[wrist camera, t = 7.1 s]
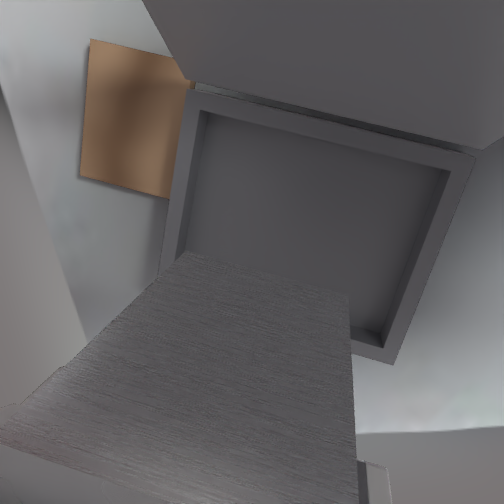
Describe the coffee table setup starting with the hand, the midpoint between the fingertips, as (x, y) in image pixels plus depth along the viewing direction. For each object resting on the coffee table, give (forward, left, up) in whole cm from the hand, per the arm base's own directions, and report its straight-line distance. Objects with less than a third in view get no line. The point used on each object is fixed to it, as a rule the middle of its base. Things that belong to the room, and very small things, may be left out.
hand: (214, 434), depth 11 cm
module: (0, 0, -4) cm, 4 cm away
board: (+12, -4, -21) cm, 25 cm away
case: (0, 0, -21) cm, 21 cm away
